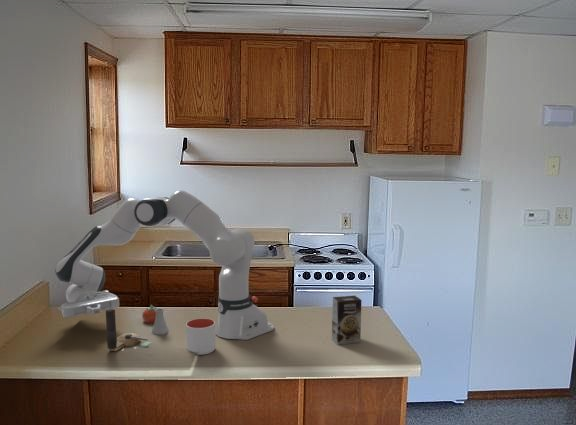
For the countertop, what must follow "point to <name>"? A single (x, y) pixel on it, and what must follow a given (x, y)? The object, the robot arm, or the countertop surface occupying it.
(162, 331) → the flask
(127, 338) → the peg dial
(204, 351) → the cup
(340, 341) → the coffee box
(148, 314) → the tomato
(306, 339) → the countertop surface
